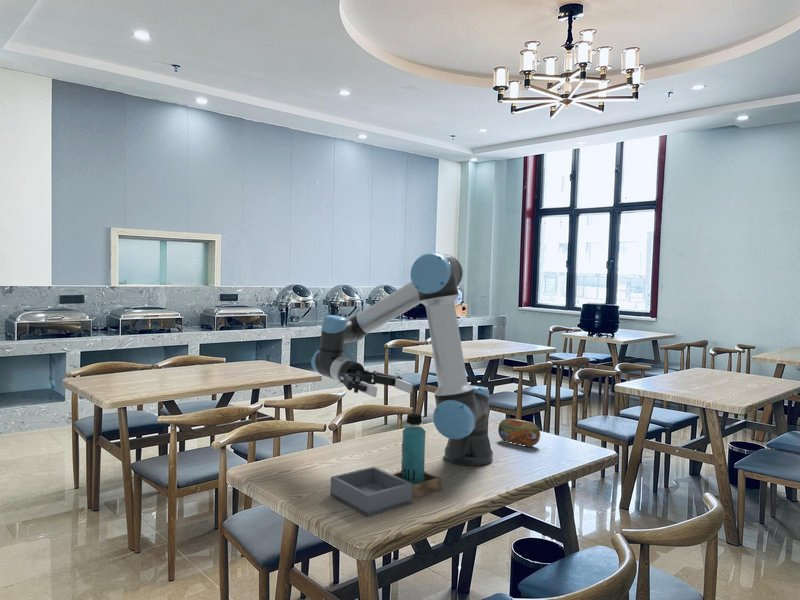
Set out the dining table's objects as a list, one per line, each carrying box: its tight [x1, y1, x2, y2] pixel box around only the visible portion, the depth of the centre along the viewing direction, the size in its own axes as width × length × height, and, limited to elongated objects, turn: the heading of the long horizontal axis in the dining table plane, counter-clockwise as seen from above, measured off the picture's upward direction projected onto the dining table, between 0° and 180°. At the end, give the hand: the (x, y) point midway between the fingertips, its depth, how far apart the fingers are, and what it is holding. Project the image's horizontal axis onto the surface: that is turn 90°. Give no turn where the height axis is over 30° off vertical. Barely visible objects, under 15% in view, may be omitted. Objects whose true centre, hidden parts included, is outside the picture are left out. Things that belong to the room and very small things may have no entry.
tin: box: [498, 418, 541, 448], centre depth 201 cm, size 15×3×8 cm, turn 50°
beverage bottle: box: [400, 413, 426, 485], centre depth 156 cm, size 6×7×20 cm
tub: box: [329, 466, 413, 518], centre depth 148 cm, size 14×16×5 cm
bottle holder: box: [390, 470, 443, 499], centre depth 157 cm, size 11×11×3 cm
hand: (394, 390), depth 163 cm, fingers open, 13 cm apart
